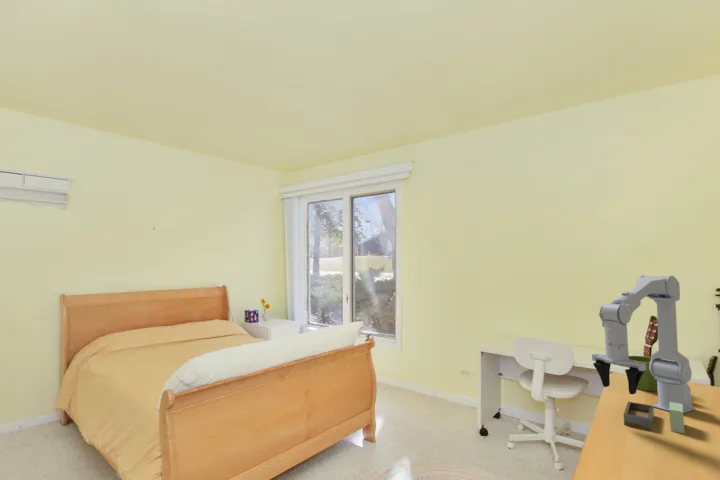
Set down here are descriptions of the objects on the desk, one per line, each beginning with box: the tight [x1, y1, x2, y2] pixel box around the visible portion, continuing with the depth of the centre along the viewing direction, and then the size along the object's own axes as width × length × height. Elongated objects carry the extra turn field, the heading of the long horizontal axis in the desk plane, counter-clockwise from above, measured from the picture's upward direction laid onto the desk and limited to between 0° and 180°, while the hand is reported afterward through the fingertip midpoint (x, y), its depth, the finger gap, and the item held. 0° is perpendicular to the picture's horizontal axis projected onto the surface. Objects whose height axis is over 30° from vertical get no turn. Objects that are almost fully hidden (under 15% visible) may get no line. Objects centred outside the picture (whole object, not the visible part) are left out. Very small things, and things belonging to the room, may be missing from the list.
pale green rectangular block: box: [668, 402, 685, 434], centre depth 113 cm, size 8×3×6 cm, turn 141°
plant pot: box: [629, 355, 658, 392], centre depth 148 cm, size 12×12×11 cm
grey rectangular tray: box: [623, 401, 655, 431], centre depth 118 cm, size 14×7×3 cm, turn 141°
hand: (619, 389), depth 116 cm, fingers open, 7 cm apart
